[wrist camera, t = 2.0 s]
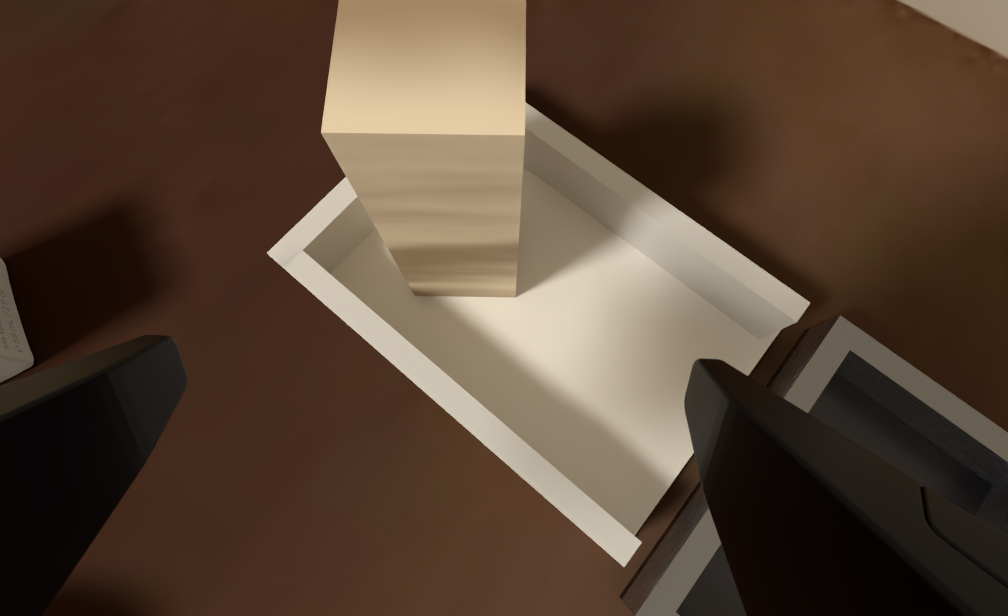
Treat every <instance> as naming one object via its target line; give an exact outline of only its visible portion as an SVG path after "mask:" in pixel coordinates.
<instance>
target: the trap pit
mask: <svg viewBox="0 0 1008 616" xmlns="http://www.w3.org/2000/svg"><path fill="white" fill-rule="evenodd" d="M766 388H768V389H770V390H771V391H773V392H774V393H776V394H778V395H779V396H781V397H782V398H784V399H786V400H787V401H789V402H791V403H792V404H794V405H795V406H797V407H799V408H800V409H802V410H803V411H805V412H807V413H808V414H810V415H812V416H813V417H815V418H816V419H818V420H820V421H821V422H823V423H824V424H826V425H828V426H829V427H831V428H833V429H834V430H836V431H837V432H839V433H841V434H842V435H844V436H845V437H847V438H849V439H850V440H852V441H853V442H855V443H857V444H858V445H860V446H862V447H863V448H865V449H866V450H868V451H870V452H871V453H873V454H874V455H876V456H878V457H879V458H881V459H883V460H884V461H886V462H887V463H889V464H891V465H892V466H894V467H895V468H897V469H899V470H900V471H902V472H903V473H905V474H907V475H908V476H910V477H912V478H913V479H915V480H916V481H918V482H919V483H920V486H921V487H922V486H926V487H928V488H930V489H931V490H933V491H934V492H936V493H938V494H939V495H941V496H942V497H944V498H946V499H947V500H949V501H950V502H952V503H954V504H955V505H957V506H959V507H960V508H962V509H963V510H965V511H967V512H968V513H970V514H972V515H973V516H975V517H977V518H978V519H980V520H982V521H983V522H985V523H987V524H988V525H990V526H992V527H993V528H995V529H997V530H998V531H1000V532H1002V533H1004V534H1005V535H1007V536H1008V432H1006V431H1005V430H1003V429H1002V428H1001V427H999V426H998V425H996V424H995V423H993V422H992V421H991V420H989V419H988V418H986V417H985V416H983V415H982V414H981V413H979V412H978V411H976V410H975V409H973V408H972V407H971V406H969V405H968V404H966V403H965V402H963V401H962V400H961V399H959V398H958V397H956V396H955V395H953V394H952V393H951V392H949V391H948V390H946V389H945V388H943V387H942V386H941V385H939V384H938V383H936V382H935V381H933V380H932V379H931V378H929V377H928V376H926V375H925V374H923V373H922V372H921V371H919V370H918V369H916V368H915V367H913V366H912V365H911V364H909V363H908V362H906V361H905V360H903V359H902V358H901V357H899V356H898V355H896V354H895V353H893V352H892V351H891V350H889V349H888V348H886V347H885V346H883V345H882V344H881V343H879V342H878V341H876V340H875V339H873V338H872V337H871V336H869V335H868V334H866V333H865V332H863V331H862V330H861V329H859V328H858V327H856V326H855V325H853V324H852V323H851V322H849V321H848V320H846V319H845V318H843V317H842V316H841V315H840V316H838V317H835V318H833V319H831V320H828V321H826V322H823V323H821V324H819V325H816V326H814V327H811V328H809V329H807V330H805V331H804V333H803V334H802V336H801V337H800V338H799V340H798V341H797V343H796V344H795V346H794V347H793V348H792V350H791V351H790V353H789V354H788V356H787V357H786V359H785V360H784V361H783V363H782V364H781V366H780V367H779V369H778V370H777V371H776V373H775V374H774V376H773V377H772V379H771V380H770V381H769V383H768V384H767V386H766ZM620 598H621V599H622V600H623V602H624V603H625V604H626V605H627V607H628V608H629V609H630V610H631V612H632V613H633V614H634V615H635V616H746V613H745V610H744V607H743V605H742V602H741V599H740V596H739V593H738V590H737V587H736V585H735V582H734V579H733V576H732V573H731V570H730V567H729V565H728V562H727V559H726V556H725V553H724V550H723V547H722V545H721V542H720V539H719V536H718V533H717V530H716V527H715V525H714V522H713V519H712V516H711V513H710V510H709V507H708V505H707V502H706V498H705V495H704V492H703V489H702V485H701V481H700V482H699V483H698V485H697V486H696V488H695V489H694V490H693V492H692V493H691V495H690V496H689V498H688V499H687V500H686V502H685V503H684V505H683V506H682V508H681V509H680V510H679V512H678V513H677V515H676V516H675V518H674V519H673V521H672V522H671V523H670V525H669V526H668V528H667V529H666V531H665V532H664V533H663V535H662V536H661V538H660V539H659V541H658V542H657V543H656V545H655V546H654V548H653V549H652V551H651V552H650V553H649V555H648V556H647V558H646V559H645V561H644V562H643V564H642V565H641V566H640V568H639V569H638V571H637V572H636V574H635V575H634V576H633V578H632V579H631V581H630V582H629V584H628V585H627V586H626V588H625V589H624V591H623V592H622V594H621V595H620Z"/></svg>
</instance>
